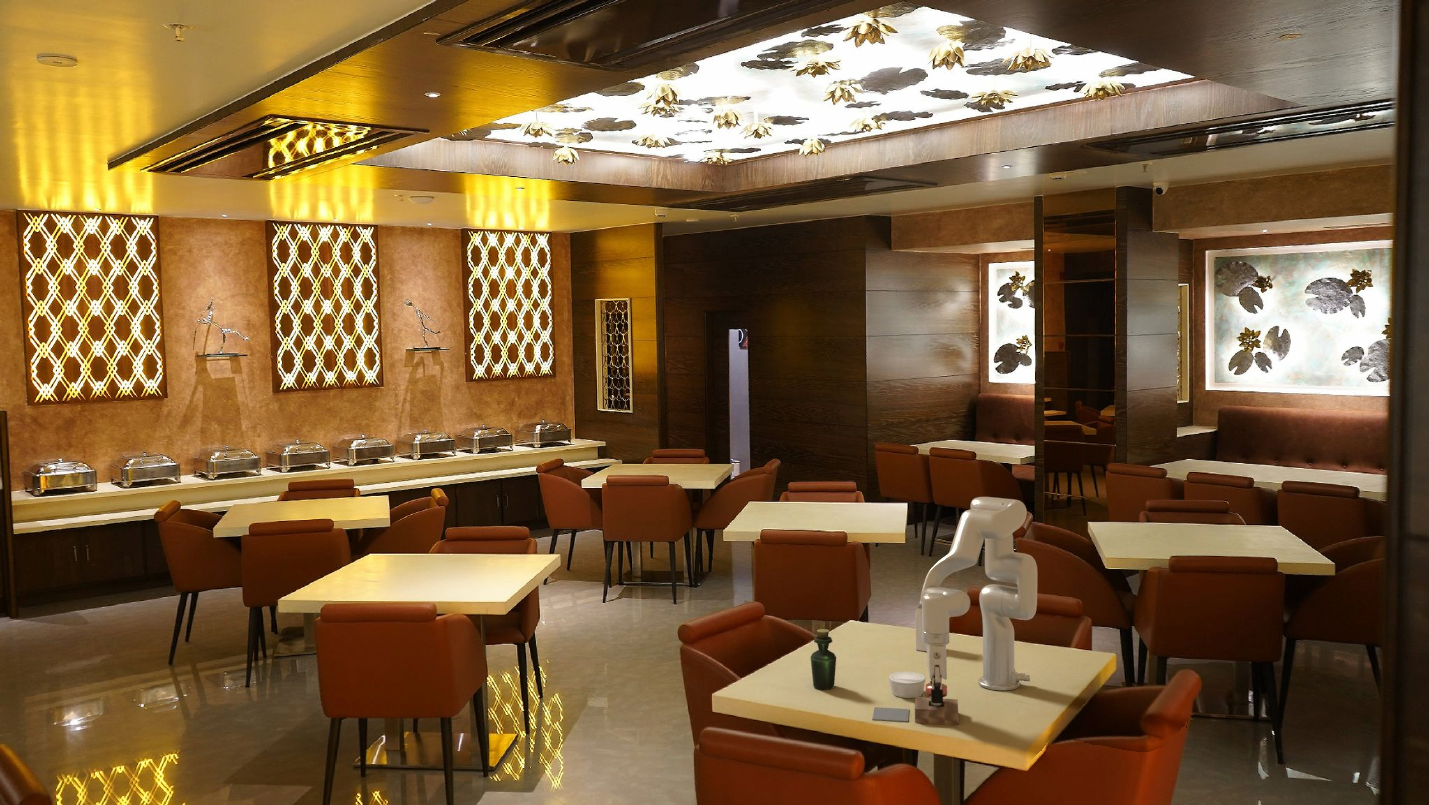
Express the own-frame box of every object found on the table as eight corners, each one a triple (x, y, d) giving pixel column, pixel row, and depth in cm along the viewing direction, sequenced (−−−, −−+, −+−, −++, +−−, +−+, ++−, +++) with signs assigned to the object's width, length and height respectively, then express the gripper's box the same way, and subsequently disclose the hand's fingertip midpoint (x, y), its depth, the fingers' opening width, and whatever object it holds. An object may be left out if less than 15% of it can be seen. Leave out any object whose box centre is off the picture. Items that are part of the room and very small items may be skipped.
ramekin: (898, 701, 309) (898, 684, 309) (882, 690, 320) (882, 673, 320) (932, 697, 313) (932, 680, 312) (915, 686, 323) (914, 669, 323)
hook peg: (946, 714, 297) (946, 683, 297) (947, 721, 291) (947, 689, 291) (925, 713, 298) (925, 682, 298) (926, 720, 292) (926, 689, 292)
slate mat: (908, 710, 302) (908, 709, 301) (907, 722, 292) (907, 721, 292) (874, 708, 304) (874, 707, 304) (872, 720, 294) (872, 719, 294)
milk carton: (942, 648, 364) (941, 595, 363) (935, 653, 358) (934, 599, 357) (922, 645, 368) (922, 593, 367) (915, 650, 362) (915, 597, 361)
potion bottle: (816, 681, 329) (816, 626, 329) (840, 685, 326) (839, 629, 325) (806, 689, 322) (806, 632, 321) (830, 692, 318) (830, 635, 318)
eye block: (957, 712, 298) (957, 699, 298) (958, 725, 289) (958, 711, 289) (915, 710, 301) (915, 697, 301) (914, 722, 291) (914, 708, 291)
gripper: (951, 646, 285) (951, 709, 286) (947, 629, 302) (948, 689, 303) (923, 645, 286) (924, 708, 287) (921, 628, 303) (922, 688, 304)
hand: (936, 698), depth 295 cm, fingers closed on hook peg, 6 cm apart
